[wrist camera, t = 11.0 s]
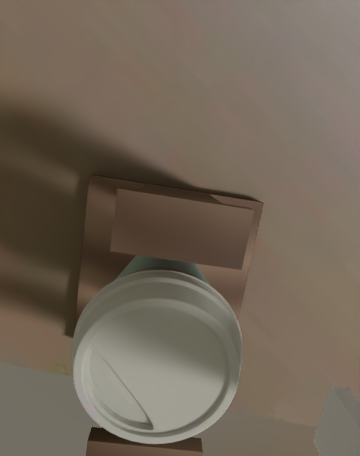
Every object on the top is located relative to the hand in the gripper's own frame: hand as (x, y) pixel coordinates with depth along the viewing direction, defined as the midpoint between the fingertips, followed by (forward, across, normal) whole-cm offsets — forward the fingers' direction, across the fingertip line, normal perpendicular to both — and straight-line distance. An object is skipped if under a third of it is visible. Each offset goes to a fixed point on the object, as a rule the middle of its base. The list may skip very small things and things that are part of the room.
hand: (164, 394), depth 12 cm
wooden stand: (+14, 0, -1) cm, 14 cm away
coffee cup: (+14, 0, -1) cm, 14 cm away
